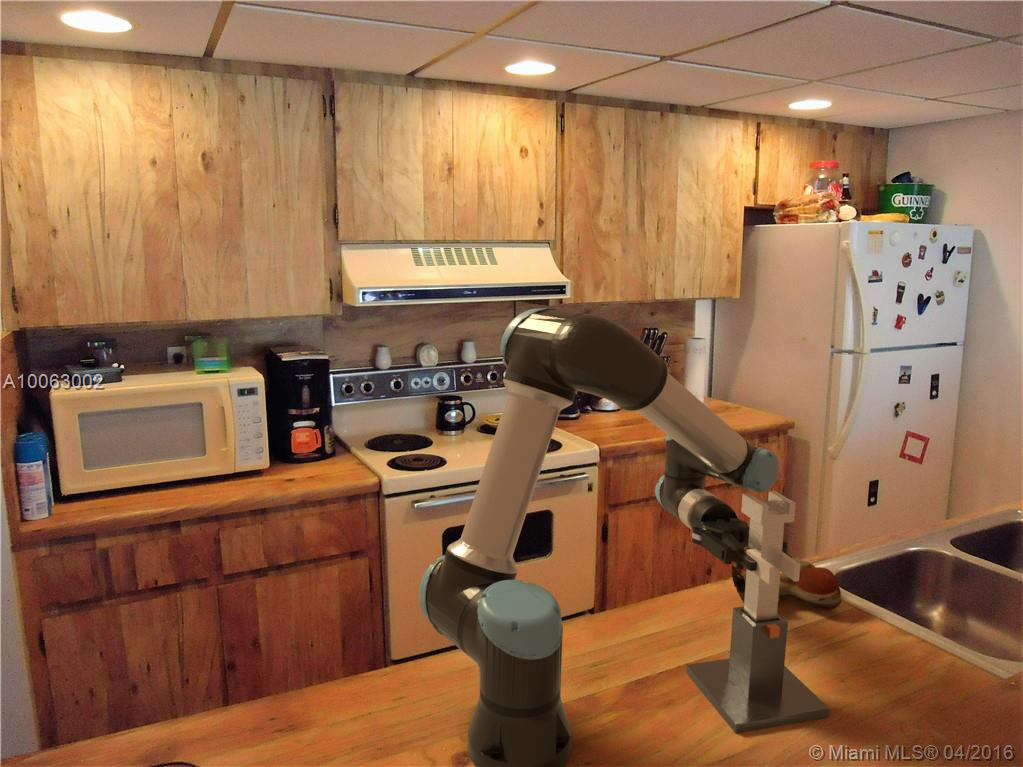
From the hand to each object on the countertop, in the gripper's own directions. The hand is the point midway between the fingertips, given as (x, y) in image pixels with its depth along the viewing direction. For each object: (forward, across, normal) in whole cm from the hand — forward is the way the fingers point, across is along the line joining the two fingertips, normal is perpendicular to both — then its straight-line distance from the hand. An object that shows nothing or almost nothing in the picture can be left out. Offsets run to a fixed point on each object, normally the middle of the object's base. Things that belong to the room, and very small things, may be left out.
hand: (784, 574), depth 111 cm
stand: (-6, 0, -24) cm, 24 cm away
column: (-5, 0, -18) cm, 19 cm away
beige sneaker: (-31, -22, -24) cm, 45 cm away
